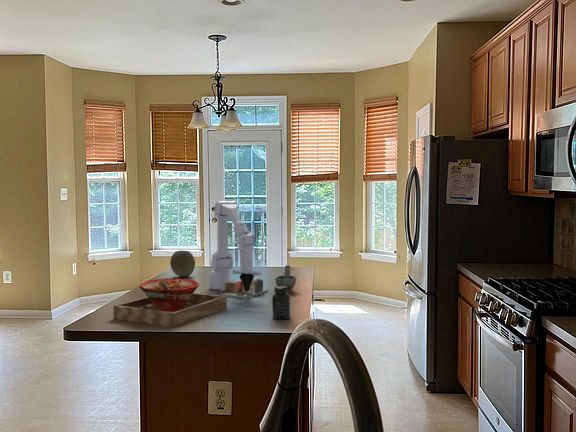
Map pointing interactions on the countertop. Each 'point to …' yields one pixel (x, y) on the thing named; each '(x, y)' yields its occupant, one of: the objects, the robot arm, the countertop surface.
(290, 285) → the mortar and pestle
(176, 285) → the stew
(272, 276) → the countertop surface
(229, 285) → the block
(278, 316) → the supplement bottle
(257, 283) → the press
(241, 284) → the lever
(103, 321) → the countertop surface
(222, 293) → the rail
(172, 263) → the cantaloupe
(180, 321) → the wooden tray
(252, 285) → the block
